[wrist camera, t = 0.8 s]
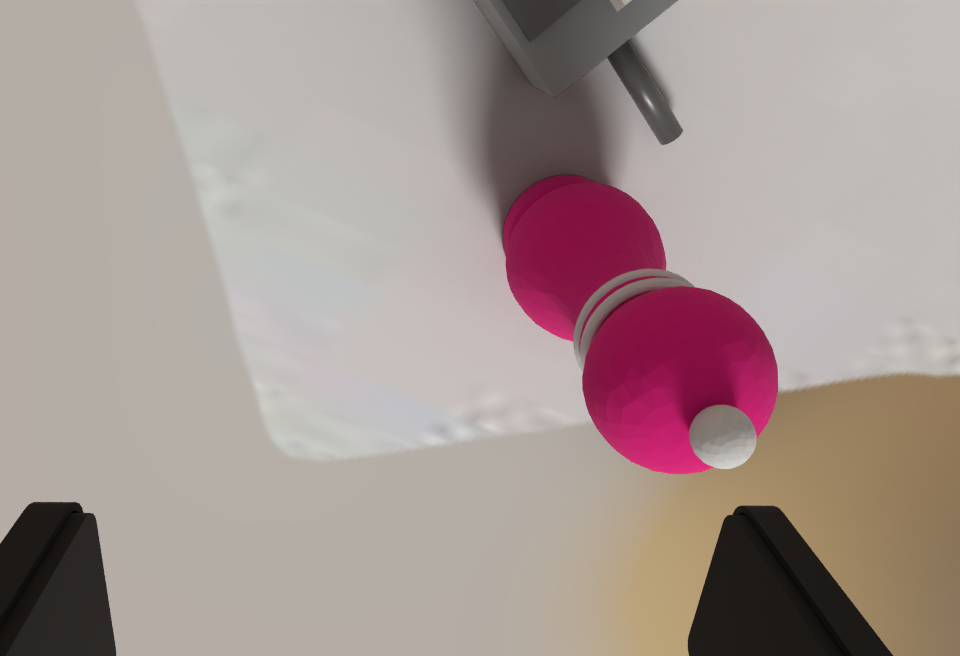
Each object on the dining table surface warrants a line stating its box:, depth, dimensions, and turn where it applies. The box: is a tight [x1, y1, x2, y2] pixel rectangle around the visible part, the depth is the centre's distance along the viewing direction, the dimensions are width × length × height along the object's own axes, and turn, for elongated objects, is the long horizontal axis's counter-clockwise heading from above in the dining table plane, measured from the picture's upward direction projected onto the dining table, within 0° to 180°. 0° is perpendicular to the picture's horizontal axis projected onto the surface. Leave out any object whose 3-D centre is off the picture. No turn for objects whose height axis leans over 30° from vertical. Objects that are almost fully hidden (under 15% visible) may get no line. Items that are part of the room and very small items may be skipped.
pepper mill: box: [503, 175, 778, 474], centre depth 28 cm, size 7×7×20 cm
